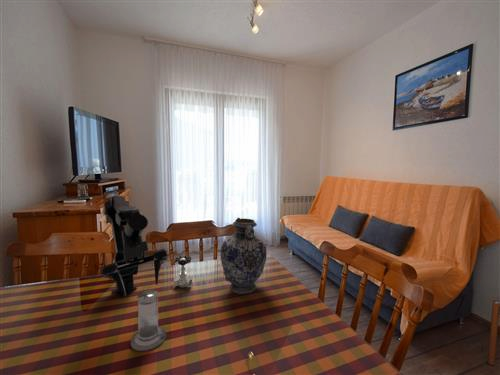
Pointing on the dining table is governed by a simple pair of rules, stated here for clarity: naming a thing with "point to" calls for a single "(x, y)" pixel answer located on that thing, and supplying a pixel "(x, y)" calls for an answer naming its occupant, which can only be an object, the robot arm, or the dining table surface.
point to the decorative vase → (243, 257)
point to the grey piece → (148, 315)
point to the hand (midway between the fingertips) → (141, 290)
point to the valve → (182, 273)
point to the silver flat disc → (148, 345)
